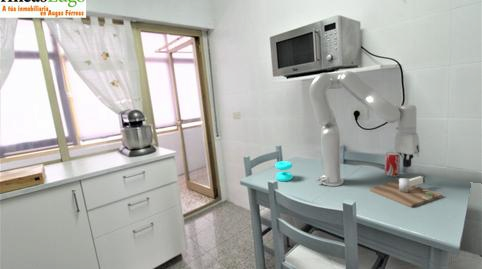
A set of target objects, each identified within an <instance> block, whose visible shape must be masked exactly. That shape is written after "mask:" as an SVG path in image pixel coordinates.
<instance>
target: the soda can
mask: <svg viewBox="0 0 482 269" xmlns="http://www.w3.org/2000/svg"><path fill="white" fill-rule="evenodd" d="M400 167H401V155H400V154H397V153H396V151H386V154H385V155H384V175H385V176H387V177H391V178H397V177H398V176H400V171H401V170H400V169H401V168H400Z"/></svg>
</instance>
